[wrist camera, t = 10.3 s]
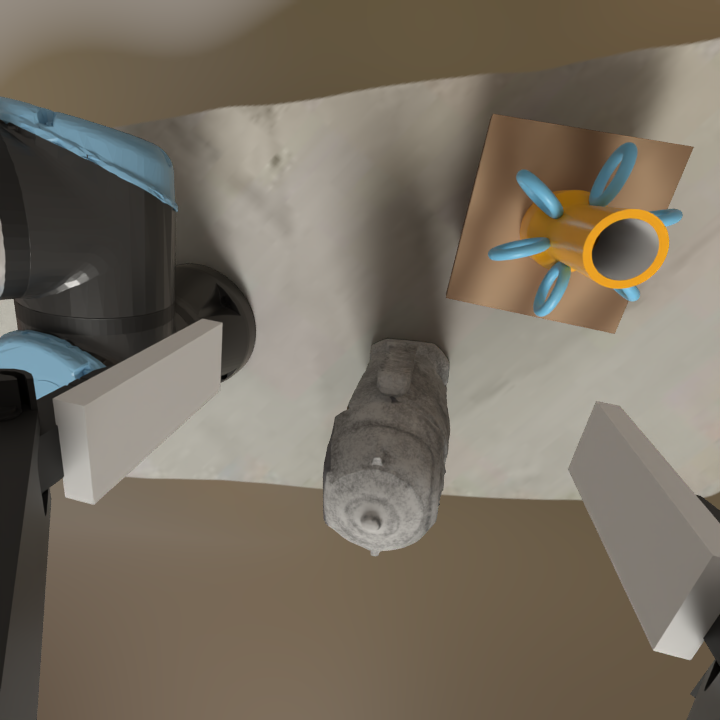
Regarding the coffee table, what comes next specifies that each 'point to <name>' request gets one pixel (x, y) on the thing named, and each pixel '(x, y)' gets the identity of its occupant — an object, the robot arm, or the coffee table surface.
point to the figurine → (390, 449)
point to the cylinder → (589, 234)
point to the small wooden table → (509, 202)
